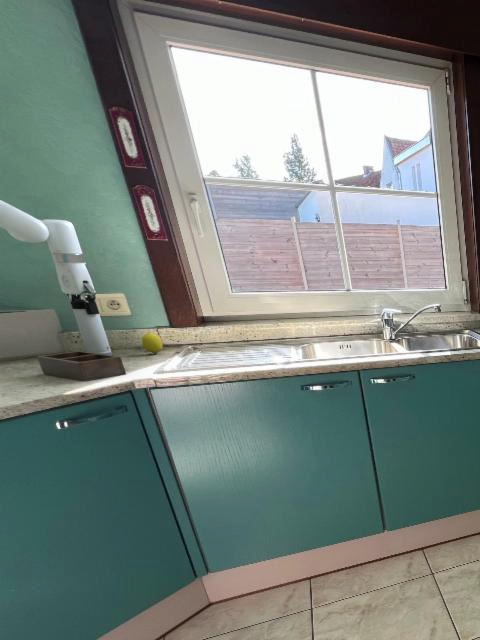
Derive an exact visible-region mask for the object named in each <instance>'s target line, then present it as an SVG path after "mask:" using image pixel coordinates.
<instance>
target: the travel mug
mask: <svg viewBox="0 0 480 640" xmlns="http://www.w3.org/2000/svg"><path fill="white" fill-rule="evenodd" d="M69 301H70V300H69ZM84 303H85V302H84V300H83V298H81V300H74V301H70V305H71V308H72V312H73V315H74V318H75V321H76V324H77V326H78V329H79V333H80V336H81V339H82V341H83V345H84V347H85V350H86V352H91V353H98V354H105V355H112V356H113V352H112V349H111V347H110V343H109V339H108V337H107V333H106V331H105V328H104V324H103V321H102V319H101V315H100V313H99V314H93V315H88V314H87V312H86V309H85V306H84Z"/></svg>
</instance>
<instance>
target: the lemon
mask: <svg viewBox="0 0 480 640" xmlns="http://www.w3.org/2000/svg"><path fill="white" fill-rule="evenodd" d="M141 344H142V347H143V348H144V349H145V350H146V351H147V352H149V353H152V354H153V355H157V354H158V353H159V352H160V351H162V349H163V341H162V339H161V338H160V337H159V336H158V335H156V334H155V333H152V332H147V333H145V334H144V335H143V336H142V338H141Z"/></svg>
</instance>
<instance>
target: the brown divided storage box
mask: <svg viewBox="0 0 480 640" xmlns="http://www.w3.org/2000/svg"><path fill="white" fill-rule="evenodd" d="M36 358H37V361H38V363H39V365H40V366H39V367H40V369H41V371H42V373H43V375H47V376H51V377H52V376H53V377H59V378H62V379H63V378H64V379H69V380H76V381H81V382H89V381H95V380H100V379H107V378H113V377H117V376H124V375H127V373H126V369H125V366H124V363H123V359H122V357H121V356H118V355H113V354H112V355H105V354H98V353H91V352H87V351H83V350H75V351H68V352H61V353H60V352H59V353H52V354H51V353H50V354H43V355H37V356H36Z"/></svg>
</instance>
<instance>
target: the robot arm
mask: <svg viewBox="0 0 480 640" xmlns="http://www.w3.org/2000/svg"><path fill="white" fill-rule="evenodd" d="M0 228H2V229H3V230H6V231H7V233H8V234H9V235H10V236H11V237H13V238H14V239H16V240H18V241H21V242H24V243H34V244H35V243H37V244H38V243H43V242H47V245H48V248H49V252H50V253H51V256H52V260H53V263H54V264H55V265H54V266H55V271H56V275H57V279H58V284H59V286H60V289H61V292H63V293H64V294H65V295H66V296H67V297H68V300H69V301H74V300H81V299H83V300H84V302H85V303H84V306H85V309H86V312H87V314H88V315H93V314H99V315H100V311H99V307H98V305H97V300H96V298H97V296H96V295H97V291H96V290H95V287H94V283H93V281H92V278H91V275H90V272H89V270H88V269H87V266H86V265H87V262H86V259H85V256H84V254H83V251H82V248H81V244H80V242H79V238H78V235H77V232H76V229H75V227H74V224H73V223H72V222H71V221H69V220H64V219H49V218H48V219H47V218H46V219H38V218H36V217H34V216H33V215H30V214H29V213H27V212H25V211H23V210H21V209H19V208H17V207H15V206H14V205H12V204H9V203H7V202H6V201H3V200H1V199H0Z"/></svg>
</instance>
